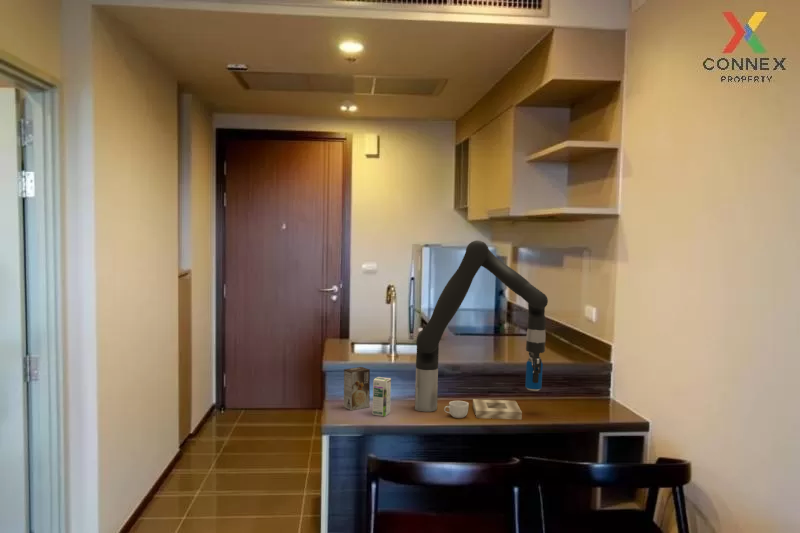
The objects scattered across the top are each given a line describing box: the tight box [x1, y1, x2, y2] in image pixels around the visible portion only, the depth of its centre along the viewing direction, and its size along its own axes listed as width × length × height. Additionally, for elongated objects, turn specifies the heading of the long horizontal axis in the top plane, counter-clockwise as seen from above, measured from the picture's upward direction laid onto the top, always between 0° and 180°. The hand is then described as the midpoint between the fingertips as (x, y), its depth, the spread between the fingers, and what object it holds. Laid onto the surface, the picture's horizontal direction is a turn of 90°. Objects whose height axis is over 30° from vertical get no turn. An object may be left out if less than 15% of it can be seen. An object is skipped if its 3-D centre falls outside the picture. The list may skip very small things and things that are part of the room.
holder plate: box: [472, 398, 523, 420], centre depth 239 cm, size 18×16×3 cm
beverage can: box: [524, 358, 544, 392], centre depth 237 cm, size 6×6×12 cm
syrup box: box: [371, 376, 392, 417], centre depth 233 cm, size 6×6×14 cm
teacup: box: [443, 400, 470, 419], centre depth 232 cm, size 10×8×5 cm
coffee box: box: [343, 366, 371, 411], centre depth 242 cm, size 9×6×16 cm
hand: (533, 380), depth 237 cm, fingers closed on beverage can, 6 cm apart
